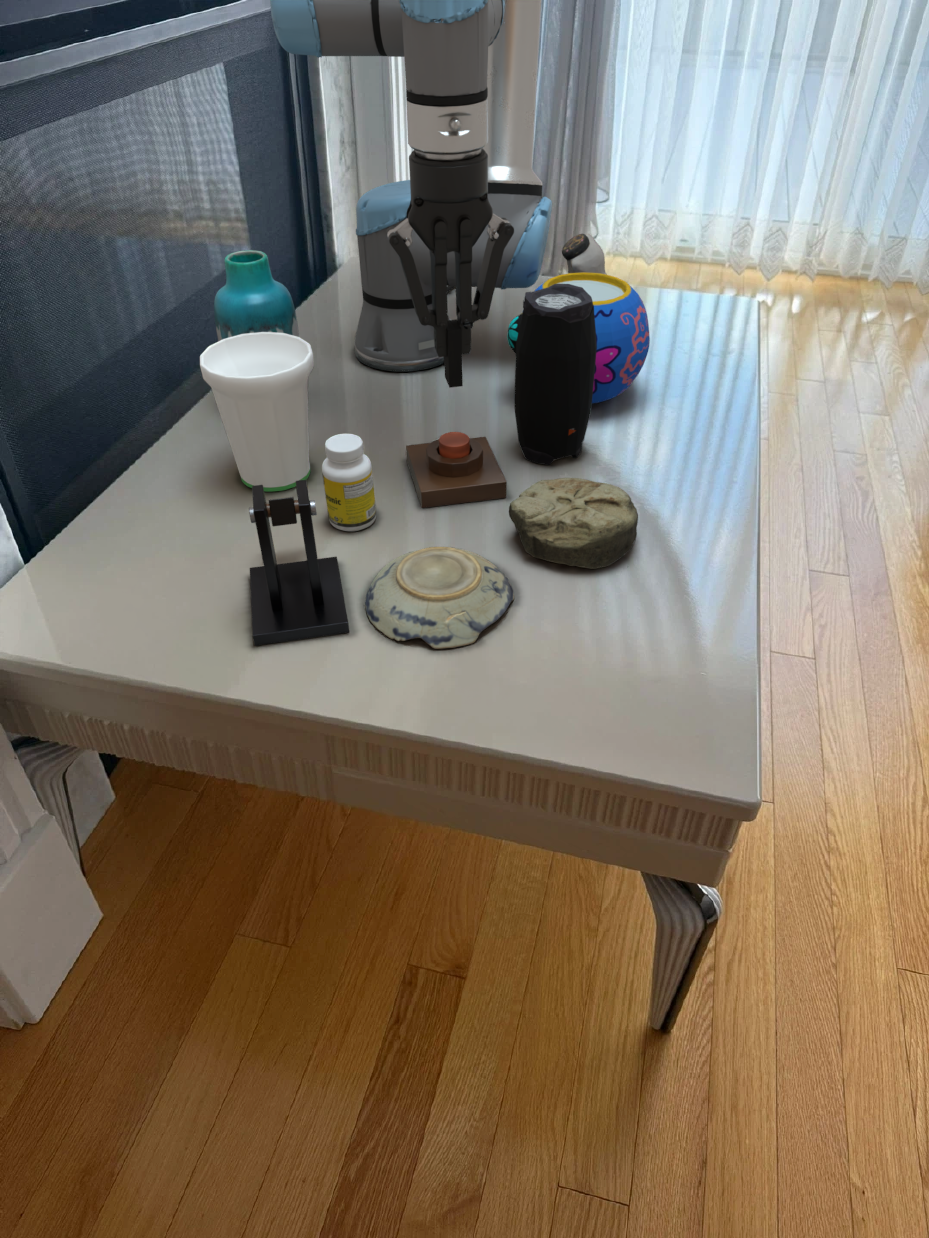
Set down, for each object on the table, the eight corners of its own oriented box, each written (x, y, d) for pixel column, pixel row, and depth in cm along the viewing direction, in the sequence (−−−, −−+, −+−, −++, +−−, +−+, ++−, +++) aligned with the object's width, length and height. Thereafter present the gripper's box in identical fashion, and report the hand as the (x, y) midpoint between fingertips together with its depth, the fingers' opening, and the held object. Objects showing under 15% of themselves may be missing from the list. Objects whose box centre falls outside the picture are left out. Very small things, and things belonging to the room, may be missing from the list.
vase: (255, 423, 119) (229, 277, 107) (216, 396, 126) (187, 256, 113) (322, 398, 125) (304, 257, 112) (280, 374, 131) (260, 237, 119)
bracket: (251, 577, 93) (229, 470, 85) (338, 566, 95) (324, 459, 87) (254, 646, 85) (230, 534, 77) (349, 632, 87) (335, 521, 78)
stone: (611, 588, 91) (616, 545, 88) (493, 552, 96) (495, 510, 93) (653, 524, 100) (659, 483, 97) (543, 494, 105) (546, 454, 102)
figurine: (576, 320, 145) (583, 223, 136) (632, 334, 141) (643, 234, 131) (548, 338, 140) (553, 238, 130) (605, 353, 135) (614, 250, 126)
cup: (267, 513, 103) (244, 389, 93) (203, 476, 109) (176, 355, 99) (348, 471, 110) (335, 351, 100) (284, 438, 116) (266, 322, 106)
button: (436, 446, 107) (436, 433, 106) (466, 443, 107) (466, 430, 106) (442, 461, 104) (441, 448, 103) (472, 458, 105) (472, 444, 103)
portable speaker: (593, 465, 110) (607, 308, 97) (517, 469, 110) (521, 311, 97) (580, 432, 117) (592, 280, 104) (509, 435, 116) (512, 283, 103)
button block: (406, 461, 111) (405, 432, 109) (485, 452, 113) (485, 423, 110) (421, 508, 103) (420, 478, 101) (506, 498, 105) (507, 468, 102)
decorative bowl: (383, 664, 83) (536, 631, 86) (379, 633, 81) (537, 600, 84) (352, 572, 94) (488, 545, 97) (348, 543, 92) (488, 517, 95)
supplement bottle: (322, 512, 103) (312, 435, 96) (367, 502, 104) (360, 425, 98) (336, 537, 99) (326, 459, 93) (383, 526, 100) (376, 448, 94)
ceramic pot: (541, 360, 134) (545, 256, 124) (657, 381, 128) (672, 274, 118) (493, 409, 122) (494, 299, 112) (620, 435, 116) (632, 321, 106)
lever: (263, 522, 93) (259, 499, 93) (311, 516, 94) (308, 493, 94) (256, 528, 81) (252, 502, 81) (312, 521, 82) (308, 495, 82)
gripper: (385, 165, 81) (401, 403, 97) (525, 155, 83) (518, 390, 99) (374, 144, 87) (390, 373, 102) (505, 135, 89) (502, 361, 104)
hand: (453, 381), depth 100 cm, fingers closed
